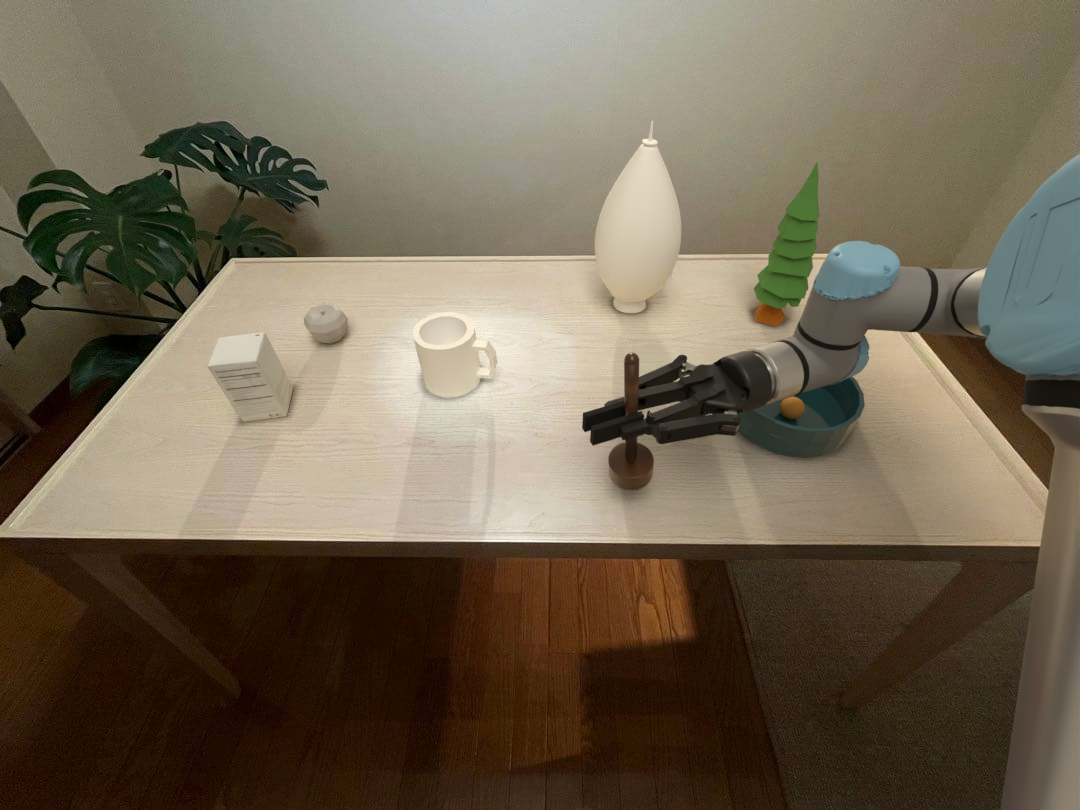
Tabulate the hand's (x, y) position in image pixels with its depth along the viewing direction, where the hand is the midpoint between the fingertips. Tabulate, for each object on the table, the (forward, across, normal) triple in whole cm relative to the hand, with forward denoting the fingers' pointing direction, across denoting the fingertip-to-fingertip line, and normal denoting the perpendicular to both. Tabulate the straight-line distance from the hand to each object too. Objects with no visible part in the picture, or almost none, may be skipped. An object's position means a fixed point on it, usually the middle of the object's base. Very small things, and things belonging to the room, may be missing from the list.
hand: (588, 429), depth 62 cm
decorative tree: (-54, +27, -17) cm, 62 cm away
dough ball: (-38, +3, -14) cm, 41 cm away
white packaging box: (+41, +39, -17) cm, 59 cm away
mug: (+9, +33, -17) cm, 38 cm away
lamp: (-30, +42, -17) cm, 54 cm away
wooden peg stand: (-7, 0, -12) cm, 14 cm away
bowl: (-39, +5, -17) cm, 42 cm away
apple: (+29, +54, -17) cm, 64 cm away
